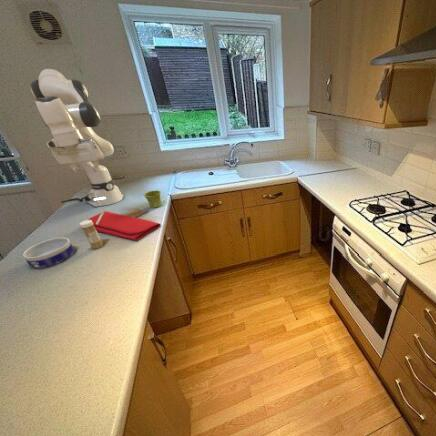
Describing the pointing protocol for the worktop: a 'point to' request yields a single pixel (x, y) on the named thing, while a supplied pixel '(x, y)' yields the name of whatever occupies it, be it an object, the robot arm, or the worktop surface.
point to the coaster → (135, 213)
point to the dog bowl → (49, 253)
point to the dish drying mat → (123, 225)
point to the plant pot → (153, 198)
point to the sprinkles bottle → (91, 234)
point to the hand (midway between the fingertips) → (88, 172)
